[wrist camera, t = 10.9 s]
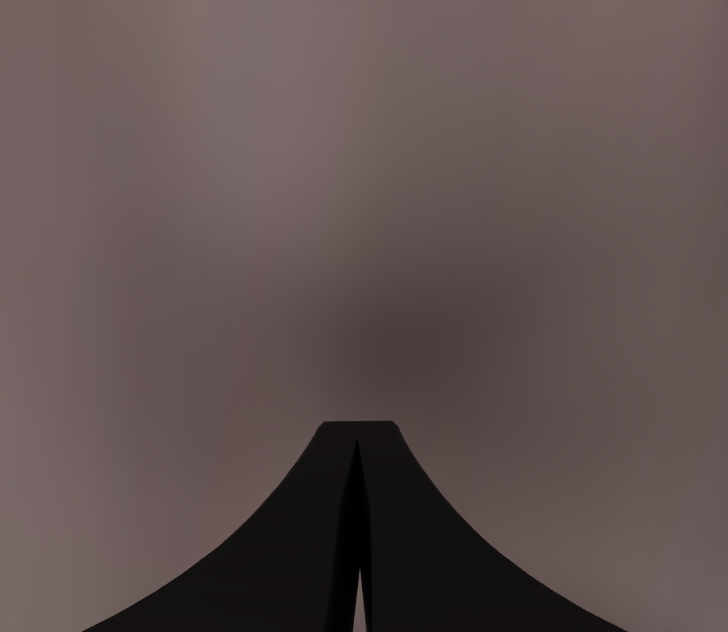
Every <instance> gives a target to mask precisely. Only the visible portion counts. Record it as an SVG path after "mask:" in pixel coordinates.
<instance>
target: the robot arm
mask: <svg viewBox="0 0 728 632" xmlns="http://www.w3.org/2000/svg"><path fill="white" fill-rule="evenodd" d="M359 571H361V582H362V592H363V601H364V611H365V621H366V631H367V632H627V631H625V630H623V629H621V628H619V627H617V626H615V625H613V624H611V623H609V622H607V621H605V620H603V619H602V618H600V617H598V616H596V615H594V614H592V613H590V612H588V611H586V610H584V609H582V608H581V607H579V606H577V605H576V604H574V603H572V602H571V601H569V600H567V599H566V598H564V597H562V596H561V595H559V594H558V593H556V592H554V591H553V590H551V589H549V588H548V587H546V586H545V585H543V584H542V583H540V582H539V581H537V580H536V579H534V578H533V577H531V576H530V575H529V574H527V573H526V572H525V571H523V570H522V569H521V568H519V567H518V566H517V565H515V564H514V563H513V562H511V561H510V560H509V559H507V558H506V557H505V556H503V555H502V554H501V553H499V552H498V551H497V550H496V549H495V548H493V547H492V546H491V545H490V544H489V543H488V542H487V541H486V540H484V539H483V538H482V537H481V536H480V535H479V534H478V533H477V532H476V531H475V530H474V529H473V528H472V527H471V526H470V525H469V524H468V523H467V522H466V521H465V520H464V519H463V518H462V517H461V516H460V515H459V514H458V512H457V511H456V510H455V509H454V508H453V507H452V506H451V504H450V503H449V502H448V501H447V500H446V499H445V498H444V496H443V495H442V494H441V493H440V491H439V490H438V489H437V488H436V486H435V485H434V484H433V482H432V481H431V480H430V478H429V477H428V476H427V474H426V473H425V471H424V470H423V469H422V467H421V466H420V464H419V463H418V461H417V460H416V458H415V457H414V455H413V454H412V452H411V450H410V449H409V447H408V445H407V444H406V442H405V440H404V438H403V436H402V434H401V432H400V430H399V427H398V426H397V425H396V424H395V423H394V422H393V421H331V422H324V423H323V424H321V425H320V426H319V427H318V429H317V431H316V433H315V435H314V436H313V438H312V440H311V441H310V443H309V444H308V446H307V448H306V449H305V450H304V452H303V453H302V455H301V456H300V458H299V459H298V461H297V462H296V463H295V465H294V466H293V467H292V469H291V470H290V471H289V472H288V474H287V475H286V476H285V478H284V479H283V480H282V482H281V483H280V484H279V485H278V487H277V488H276V489H275V490H274V491H273V492H272V493H271V494H270V496H269V497H268V498H267V499H266V500H265V501H264V502H263V504H262V505H261V506H260V507H259V508H258V509H257V510H256V511H255V512H254V513H253V514H252V515H251V517H250V518H249V519H248V520H247V521H246V522H245V523H244V524H243V525H241V526H240V527H239V528H238V529H237V530H236V531H235V532H234V533H233V534H232V535H231V536H230V537H229V538H227V539H226V540H225V541H224V542H223V543H222V544H221V545H220V546H218V547H217V548H216V549H214V550H213V551H212V552H211V553H209V554H208V555H207V556H205V557H204V558H203V559H201V560H200V561H199V562H197V563H196V564H195V565H193V566H192V567H191V568H189V569H188V570H187V571H185V572H184V573H183V574H181V575H180V576H178V577H177V578H175V579H174V580H172V581H171V582H169V583H168V584H166V585H165V586H163V587H161V588H160V589H158V590H157V591H155V592H154V593H152V594H150V595H149V596H147V597H145V598H144V599H142V600H140V601H139V602H137V603H135V604H133V605H132V606H130V607H128V608H127V609H125V610H123V611H121V612H119V613H118V614H116V615H114V616H112V617H110V618H108V619H106V620H104V621H102V622H100V623H98V624H96V625H94V626H92V627H90V628H88V629H86V630H84V631H82V632H353V624H354V616H355V607H356V598H357V589H358V580H359Z"/></svg>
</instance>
